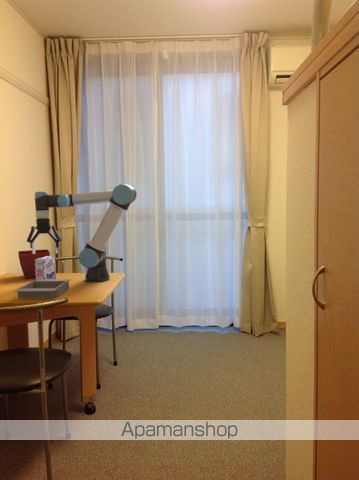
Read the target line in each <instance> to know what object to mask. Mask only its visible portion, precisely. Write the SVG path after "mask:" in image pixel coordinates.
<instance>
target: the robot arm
mask: <svg viewBox="0 0 359 480" xmlns="http://www.w3.org/2000/svg"><path fill="white" fill-rule="evenodd" d="M136 199H137V191H136V189H135V187H134V186H132V185H130V184H127V183H120V184H119V183H118V185H116V186H114V188H113V189H109V190H101V191H100V190H99V191H92V192H91V191H90V192H82V193H72V194H63V193H62V194H49V192H48V191H36V192H34V204H35V205H34V206H35V217H36V219H35V220H36V221H35V223H36V226H34V225H33V226H32V225H31V226H30V232H29V234H28V236H27V239H26V243H29V244H30V249H31V250H32V254H35V250H36V243H35V241H36V239H37V238H38V236H40V235H41V234H42V235H43V234H46V235H48V236H49V237H50V238H51V239H53V241H54V243H53V244H54V254H58V253H59V251H58V248H59V247H60V242H61V241H63V239H62V238H61V237H62V236H60V233H59V232H58V231H57V228H56V227H57V226H56V225H51V219H50V208H63V209H64V208H71V207H79V206H80V207H81V206H89V205H90V206H91V205H100V204H109V206H108V207H107V209H106V212H105V214H104V215H103V218H102V220H101V221H100V223H99V224H98V227H97V229H96V231H95V233H94V235H93V236H92V238H91V239H90V240H88V241H87V242H86V244H85V246H84V248H83V249H82V250H81V251H80V252H79V254H78V261H79V264H80V265H81V266H82V267H84V268H87V269H86V272H85V276H84V281H85V282H89V283H90V282H91V283H95V282H96V283H97V282H98V283H99V282H100V283H101V282H105V281H109V280H110V273H109V271H108V267H107V247H106V245H107V244H108V241H109V239H110V238H111V235H112V234H113V231H114V230H115V228H116V226H117V224H118V222H119V221H120V219H121V217H122V215H123V213H124V212H127V211H128V209H129V207H130V206H131V204H132V203H134V201H136ZM35 230H36V233H35ZM51 230H52V231H51ZM34 233H35V234H34Z"/></svg>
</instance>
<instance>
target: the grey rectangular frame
mask: <svg viewBox="0 0 359 480" xmlns="http://www.w3.org/2000/svg"><path fill="white" fill-rule="evenodd" d="M71 280H72V279H71V278H68V279H67V278H61V279H59V278H58V279H57V278H56V279H36V278H35V279H34V280H32V281H30V282H29V283H26V284H25V285H22V286H21V287H17V288H16V289H14V290H13V292H15V293H16V292H17V299H58V298H60V297H61V296H62V295H64V294H65V293H66V292H68V291H69V290H70V282H71Z"/></svg>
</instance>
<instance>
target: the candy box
mask: <svg viewBox="0 0 359 480" xmlns="http://www.w3.org/2000/svg"><path fill="white" fill-rule="evenodd" d="M55 257H56V256H52V255H50V256H46V257H42V258H39V259H35V276H36V278H35V280H36V279H57V276H56V273H57V272H56V258H55Z"/></svg>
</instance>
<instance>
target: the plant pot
mask: <svg viewBox="0 0 359 480" xmlns="http://www.w3.org/2000/svg"><path fill="white" fill-rule="evenodd" d="M17 253H18V259H19V264H20V268H21V271H22V273H23V276H24V279H36V276H35V259H39V258H42V257H46V256H51V252H50V250H49V249H35V254H32V249H31V250H18V251H17Z"/></svg>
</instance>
